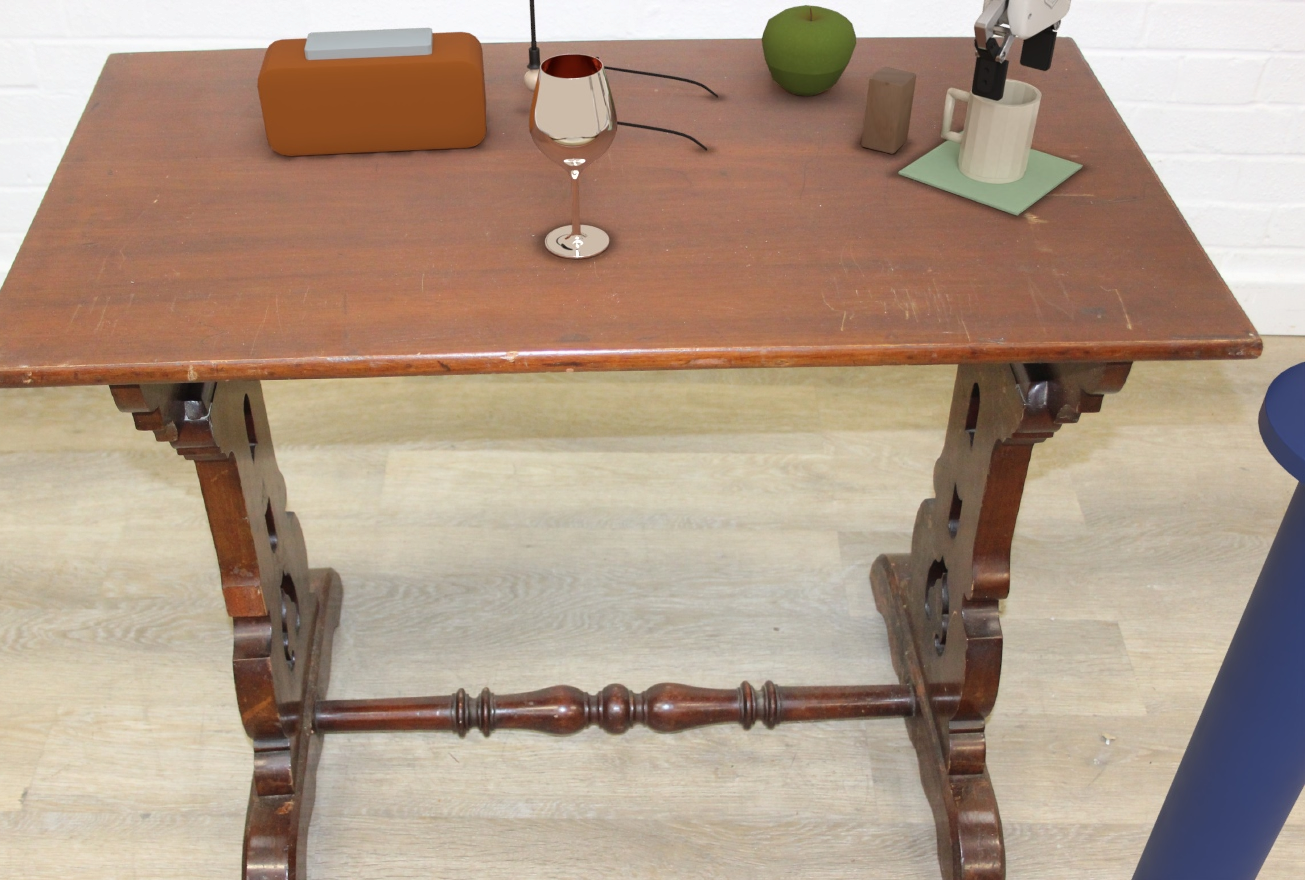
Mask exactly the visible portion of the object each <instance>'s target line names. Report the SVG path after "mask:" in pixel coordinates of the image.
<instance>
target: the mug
mask: <svg viewBox="0 0 1305 880" xmlns="http://www.w3.org/2000/svg"><path fill="white" fill-rule="evenodd" d="M971 90H972V87H971V88H970V91H966V90H962V89H959V88H956V87H949V88H947V90H946V94H945V95H946V96H945V102H944V107H943V114H942V119H941V126H940V133H939V136H940V138H941V139H943V140H946V141H947V140H949V141H952V142H955V143H958V144H961V148H960V153H959V159H958V168H959V170H960V172H961V173H962V174H964V175H965V176H967V177H968V178H971V179H973V180H976V181H979V182H984V183H991V184H1005V183H1011V182H1015V181H1017V180H1019V179H1021V178H1022V177H1023V176H1024V175H1025V173H1026V168H1027V163H1028V159H1029V154H1030V149H1032V144H1033V139H1034V135H1035V130H1036V124H1037V120H1038V114H1039V110H1040V106H1041V100H1042V95H1043V94H1042V92H1041V91H1040V89H1038V88H1037V87H1036V86H1034V85H1032V84H1030V83H1027V82H1025V81H1021V80H1017V79H1011V78H1006V82H1005V88H1004V93H1003V98H1002V99H1000V100H999V101H995V100H991V99H988V98H984V97H980V96H977V95H974V94H972V91H971ZM956 100H957V101H961V102H964V103H967V108H966V113H965V121H964V124H963V130H962V131H963V135H962V134H959V133H960V132H956V131H953V130H951V129H952V124H953V117H954V113H955V112H954V111H955V107H956V106H955V104H956Z"/></svg>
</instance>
